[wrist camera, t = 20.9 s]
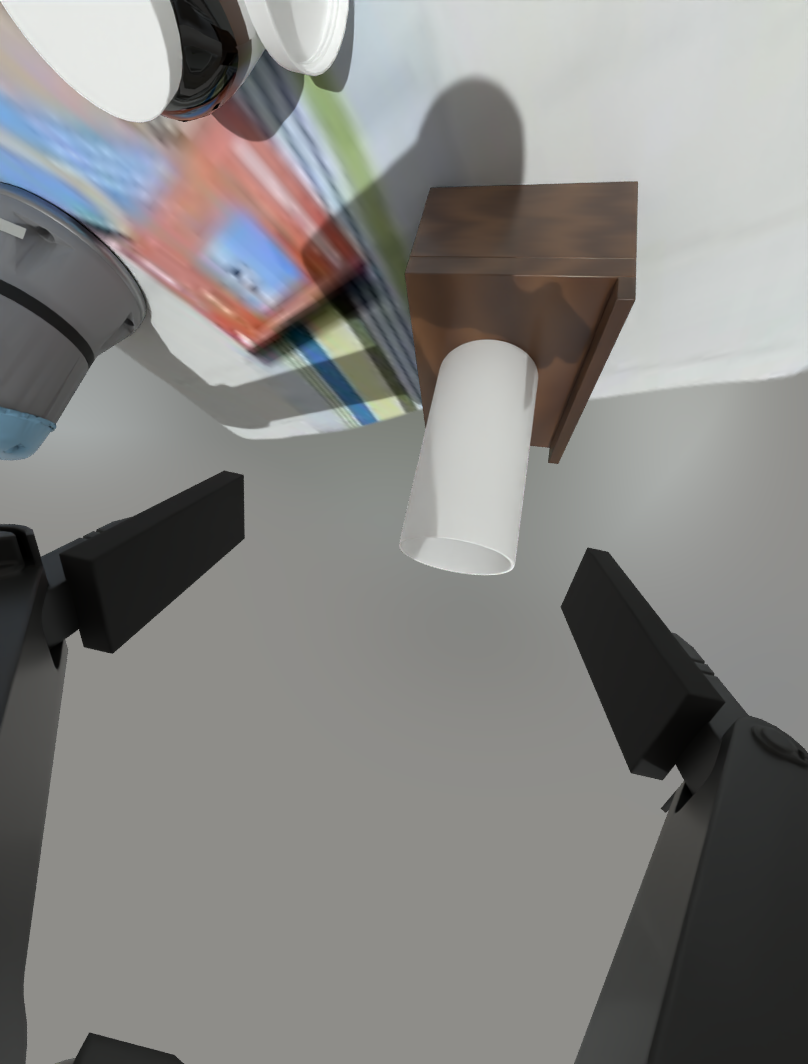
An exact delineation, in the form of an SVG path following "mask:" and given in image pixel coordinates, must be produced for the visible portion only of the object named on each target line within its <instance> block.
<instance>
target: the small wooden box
mask: <svg viewBox="0 0 808 1064" xmlns="http://www.w3.org/2000/svg"><path fill="white" fill-rule="evenodd" d="M637 204H638V182H605V183H572V184H539V185H506V186H473V187H441V188H430V191H429V194H428V198H427V201H426V204H425V208H424V211H423V214H422V218H421V221H420V224H419V227H418V231H417V234H416V237H415V241H414V244H413V247H412V251H411V254H410V258H409V261H408V264H407V267H406V271H405V280H406V287H407V295H408V302H409V310H410V317H411V324H412V332H413V339H414V347H415V354H416V361H417V369H418V376H419V384H420V391H421V399H422V406H423V413H424V420H425V428H426V425H427V421H428V417H429V412H430V408H431V404H432V400H433V395H434V391H435V387H436V382H437V378H438V374H439V370H440V366H441V364H442V362H443V360H444V358H445V357H446V356H447V355H448V354H449V353H450V352H451V351H452V350H454V349H455V348H457V347H458V346H460V345H463V344H465V343H468V342H471V341H476V340H499V341H503V342H507V343H510V344H513V345H515V346H517V347H519V348H520V349H522V350H523V351H525V352H526V353H527V354H528V355H529V356H530V357H531V358H532V360H533V361H534V363H535V365H536V367H537V371H538V384H537V392H536V401H535V409H534V417H533V425H532V433H531V441H530V446H538V447H547V448H550V450H549V459H548V463H555V464H558V463H559V461H560V459H561V457H562V455H563V453H564V450H565V448H566V446H567V444H568V442H569V440H570V438H571V436H572V433H573V431H574V429H575V427H576V425H577V423H578V421H579V418H580V416H581V414H582V412H583V410H584V408H585V406H586V404H587V401H588V399H589V397H590V395H591V393H592V391H593V389H594V387H595V384H596V382H597V380H598V378H599V376H600V374H601V372H602V370H603V367H604V365H605V363H606V361H607V359H608V357H609V355H610V353H611V350H612V348H613V346H614V344H615V342H616V340H617V338H618V336H619V333H620V331H621V329H622V327H623V325H624V323H625V321H626V319H627V316H628V314H629V312H630V310H631V308H632V306H633V304H634V302H635V296H636V253H637Z"/></svg>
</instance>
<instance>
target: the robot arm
mask: <svg viewBox="0 0 808 1064" xmlns="http://www.w3.org/2000/svg"><path fill="white" fill-rule="evenodd" d="M145 315H146V304H145V300H144V297H143V295H142V293H141V291H140V289H139V287H138V285H137V283H136V282H135V280H134V279H133V277H132V276H131V274H130V273H129V272H128V271H127V269H126V268H125V267H124V265H123V264H122V263H121V262H120V261H119V260H118V259H117V257H116V256H115V255H114V254H113V253H112V252H111V251H110V250H109V249H108V248H107V247H106V246H105V245H104V244H103V243H102V242H101V241H99V240H98V239H97V238H96V237H95V236H94V235H93V234H92V233H90V232H89V231H88V230H87V229H85V228H84V227H83V226H82V225H80V224H79V223H78V222H77V221H75V220H74V219H72V218H71V217H70V216H68V215H67V214H65V213H64V212H62V211H61V210H59V209H58V208H56V207H55V206H53V205H51V204H50V203H48V202H46V201H44V200H43V199H41V198H39V197H37V196H35V195H33V194H31V193H29V192H27V191H25V190H22V189H20V188H17V187H14V186H11V185H8V184H5V183H1V182H0V460H20V459H25V458H28V457H30V456H31V455H32V454H34V453H35V452H36V451H37V450H38V448H39V447H40V446H41V444H42V443H43V441H44V440H45V439H46V437H47V436H48V435H49V433H50V432H52V431H54V430H55V428H56V423H57V421H58V419H59V418H60V416H61V414H62V413H63V411H64V410H65V408H66V406H67V404H68V403H69V401H70V400H71V398H72V396H73V395H74V393H75V391H76V390H77V388H78V386H79V385H80V383H81V381H82V380H83V378H84V377H85V375H86V373H87V371H88V369H89V368H90V366H91V365H92V363H93V362H94V360H95V358H96V357H97V356H98V355H100V354H101V353H103V352H105V351H106V350H108V349H109V348H111V347H112V346H114V345H115V344H117V343H119V342H120V341H122V340H123V339H125V338H126V337H128V336H130V335H131V334H133V333H134V332H135V331H136V329H137V328H138V327H139V326H140V324H141V323H142V321H143V319H144V317H145ZM244 536H245V535H244V476H243V475H241V474H237V473H232V472H228V471H223V472H221V473H219V474H217V475H215V476H213V477H211V478H209V479H207V480H205V481H203V482H201V483H199V484H197V485H195V486H193V487H191V488H189V489H187V490H185V491H183V492H181V493H179V494H177V495H175V496H173V497H171V498H169V499H167V500H165V501H163V502H161V503H159V504H157V505H155V506H153V507H151V508H149V509H147V510H145V511H143V512H141V513H139V514H137V515H135V516H133V517H129V518H126V519H122V520H118V521H114V522H111V523H109V524H107V525H105V526H103V527H101V528H99V529H97V531H96V532H94V531H93V532H91V533H89V534H87V535H85V536H83V538H78V539H76V540H74V541H72V542H70V543H68V544H66V545H64V546H62V547H60V548H58V549H56V550H54V551H52V552H50V553H48V554H46V555H44V556H42V557H41V556H40V553H39V550H38V546H37V543H36V540H35V536H34V533H33V530H32V529H30V528H28V527H26V526H22V525H15V524H0V1064H25V1061H26V1049H27V1021H26V1013H25V1004H24V995H23V992H24V991H23V990H24V988H23V987H24V986H23V984H24V971H25V964H26V957H27V949H28V942H29V935H30V927H31V920H32V912H33V905H34V898H35V891H36V883H37V876H38V868H39V861H40V854H41V846H42V839H43V831H44V824H45V817H46V809H47V802H48V794H49V787H50V779H51V773H52V772H51V771H52V765H53V757H54V750H55V743H56V735H57V728H58V721H59V713H60V705H61V698H62V691H63V684H64V677H65V669H66V662H67V654H68V648H67V645H66V641H65V638H67V637H69V636H70V635H71V634H73V633H74V632H75V631H77V630H78V629H79V631H80V635H81V638H82V642H83V646H84V647H86V648H90V649H94V650H99V651H103V652H107V653H114V652H115V651H116V650H117V649H118V648H120V647H121V646H122V645H123V644H124V643H125V642H127V641H128V640H129V639H130V638H131V637H132V636H133V635H135V634H136V633H137V632H138V631H139V630H140V629H141V628H143V627H144V626H145V625H146V624H147V623H148V622H149V621H151V619H153V618H154V617H155V616H156V615H157V614H158V613H160V612H161V611H162V610H163V609H164V608H166V607H167V606H168V605H169V604H170V603H171V602H172V601H173V600H174V599H176V598H177V597H178V596H179V595H180V594H182V592H184V591H185V590H186V589H187V588H188V587H190V586H191V585H192V584H193V583H194V582H195V581H196V580H198V579H199V578H200V577H201V576H202V575H203V574H204V573H206V572H207V571H208V570H209V569H210V568H211V567H212V566H213V565H215V564H216V563H217V562H218V561H219V560H220V559H221V558H222V557H224V556H225V555H226V554H227V553H228V552H230V551H231V550H232V549H233V548H234V547H235V546H236V545H238V544H239V543H240V542H241V541H242V540H243V539H244V538H245V537H244ZM561 609H562V611H563V614H564V616H565V618H566V621H567V623H568V625H569V628H570V630H571V633H572V635H573V637H574V640H575V642H576V644H577V647H578V649H579V651H580V654H581V656H582V659H583V661H584V663H585V666H586V668H587V670H588V673H589V675H590V678H591V680H592V682H593V685H594V687H595V689H596V692H597V694H598V696H599V699H600V701H601V704H602V706H603V708H604V711H605V713H606V715H607V718H608V720H609V722H610V725H611V727H612V730H613V732H614V734H615V737H616V739H617V741H618V744H619V746H620V749H621V751H622V753H623V755H624V758H625V760H626V763H627V765H628V767H629V770H630V772H631V773H633V774H637V775H642V776H646V777H651V778H655V779H659V780H663V779H664V778H665V777H666V775H667V774H668V773H669V772H670V770H671V769H672V768H673V767H674V765H675V764H676V766H677V768H678V770H679V771H680V773H681V775H682V777H683V779H684V782H683V783H682V784H681V786H680V787H679V788H678V789H677V790H676V791H675V792H674V794H673V795H672V796H671V797H670V798H669V800H668V801H667V802H666V803H665V804H664V806H663V807H662V808H661V809H662V810H663V811H664V812H667V811H668V810H669V812H668V814H667V817H666V819H665V822H664V825H663V827H662V830H661V833H660V836H659V838H658V841H657V844H656V846H655V849H654V852H653V854H652V857H651V860H650V862H649V865H648V868H647V870H646V873H645V876H644V879H643V881H642V884H641V887H640V889H639V892H638V894H637V897H636V900H635V903H634V905H633V908H632V910H631V913H630V916H629V919H628V921H627V924H626V927H625V929H624V932H623V935H622V937H621V940H620V943H619V945H618V948H617V951H616V953H615V956H614V959H613V962H612V964H611V967H610V969H609V972H608V975H607V977H606V980H605V983H604V986H603V988H602V991H601V993H600V996H599V999H598V1001H597V1004H596V1007H595V1010H594V1012H593V1015H592V1017H591V1020H590V1023H589V1026H588V1028H587V1031H586V1034H585V1036H584V1039H583V1042H582V1044H581V1047H580V1050H579V1052H578V1055H577V1058H576V1060H575V1063H574V1064H808V753H807V751H806V750H805V749H804V748H803V747H802V746H801V745H800V744H799V743H798V742H796V741H795V740H794V739H793V738H792V737H791V736H789V735H788V734H786V733H785V732H783V731H782V730H780V729H779V728H777V727H776V726H774V725H772V724H770V723H767V722H766V721H764V720H762V719H759V718H755V717H752V716H749V715H748V714H747V713H746V712H745V710H744V709H743V708H742V707H741V706H740V704H739V703H738V702H737V701H736V699H735V698H734V697H733V696H732V695H731V693H730V692H729V691H728V690H727V688H726V687H725V686H724V685H723V683H722V682H721V681H720V680H719V679H718V677H716V676H714V672H713V671H712V670H711V669H710V668H709V666H708V665H706V664H704V660H703V659H702V658H701V657H700V655H699V654H698V653H697V652H696V650H695V649H694V648H693V647H692V646H690V645H689V644H688V643H687V642H686V641H684V640H683V639H682V638H681V637H680V636H678V635H677V634H675V633H671V632H670V630H669V629H668V628H667V626H666V625H665V624H664V623H663V621H662V620H661V619H660V618H659V616H658V615H657V614H656V613H655V611H654V610H653V609H652V607H651V606H650V605H649V603H648V602H647V601H646V600H645V598H644V597H643V596H642V595H641V593H640V592H639V591H638V590H637V588H636V587H635V586H634V584H633V583H632V582H631V580H630V579H629V578H628V577H627V575H626V574H625V573H624V572H623V570H622V569H621V568H620V566H619V565H618V564H617V563H616V562H615V560H614V559H613V558H612V556H611V555H610V554H609V552H606V551H601V550H597V549H592V548H587V550H586V552H585V554H584V557H583V559H582V561H581V563H580V565H579V568H578V570H577V572H576V574H575V576H574V579H573V581H572V583H571V585H570V587H569V590H568V592H567V594H566V596H565V599H564V601H563V603H562V605H561ZM56 1064H184V1063H182V1062H181V1061H180V1060H179V1059H178V1058H177V1057H176V1056H175V1055H172V1054H168V1053H165V1052H161V1051H157V1050H153V1049H150V1048H146V1047H142V1046H138V1045H134V1044H131V1043H127V1042H123V1041H119V1040H115V1039H112V1038H108V1037H104V1036H101V1035H96V1034H93V1033H89V1034H88V1036H87V1038H86V1040H85V1042H84V1043H83V1045H82V1047H81V1049H80V1051H79V1053H78V1055H77V1056H76V1058H73V1059H68V1060H64V1061H62V1062H59V1063H56Z"/></svg>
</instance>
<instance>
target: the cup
mask: <svg viewBox="0 0 808 1064" xmlns="http://www.w3.org/2000/svg"><path fill="white" fill-rule="evenodd" d="M537 384H538V371H537V367H536V365H535V363H534V361H533V360H532V358H531V357H530V356H529V355H528V354H527V353H526V352H525V351H523V350H522V349H520V348H519V347H517V346H515V345H513V344H510V343H507V342H503V341H499V340H476V341H471V342H468V343H465V344H463V345H460V346H458V347H457V348H455V349H454V350H452V351H451V352H450V353H449V354H448V355H447V356H446V357H445V358H444V360H443V362H442V364H441V366H440V370H439V374H438V378H437V382H436V387H435V391H434V395H433V400H432V404H431V408H430V412H429V417H428V421H427V425H426V430H425V434H424V438H423V443H422V447H421V451H420V455H419V460H418V464H417V469H416V473H415V477H414V481H413V485H412V490H411V494H410V498H409V503H408V507H407V511H406V516H405V520H404V524H403V529H402V533H401V538H400V543H399V547H400V549H401V551H402V552H403V553H404V554H406V555H407V556H408V557H410V558H412V559H414V560H416V561H418V562H421V563H423V564H426V565H429V566H432V567H435V568H439V569H443V570H447V571H452V572H457V573H464V574H473V575H496V574H502V573H506V572H509V571H511V570H512V569H513V568H514V565H515V560H516V552H517V544H518V537H519V528H520V521H521V513H522V505H523V496H524V489H525V481H526V473H527V464H528V457H529V448H530V441H531V433H532V425H533V417H534V409H535V401H536V392H537Z"/></svg>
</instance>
